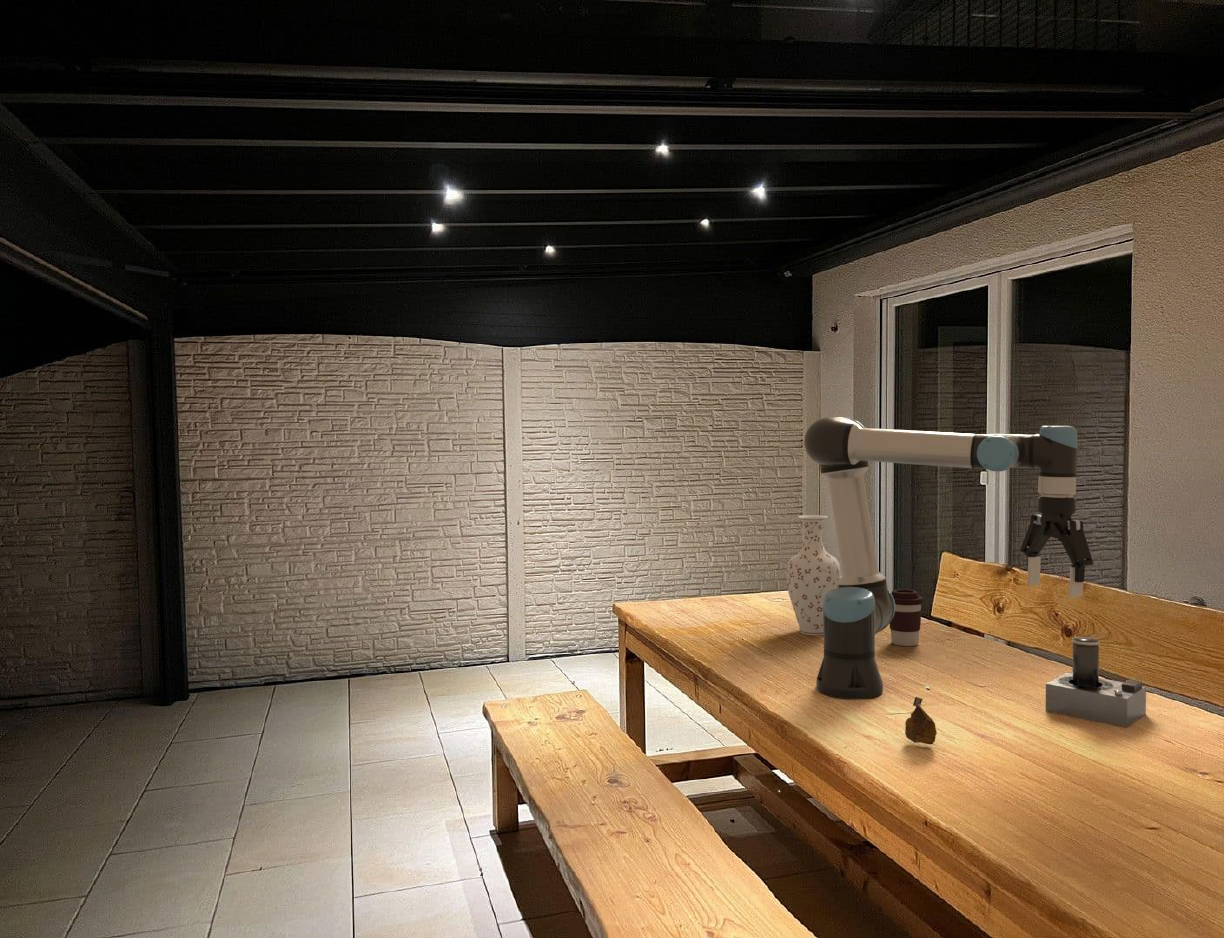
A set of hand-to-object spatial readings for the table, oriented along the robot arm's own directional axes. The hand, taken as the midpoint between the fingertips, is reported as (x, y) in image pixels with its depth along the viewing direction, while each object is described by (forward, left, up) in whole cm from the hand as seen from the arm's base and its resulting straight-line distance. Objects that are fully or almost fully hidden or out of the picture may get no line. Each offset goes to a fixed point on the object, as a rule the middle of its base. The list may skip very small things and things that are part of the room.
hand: (1053, 591), depth 203 cm
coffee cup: (+27, +51, -25) cm, 62 cm away
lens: (-2, -7, -20) cm, 22 cm away
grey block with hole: (-2, -9, -25) cm, 27 cm away
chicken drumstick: (-46, +9, -25) cm, 53 cm away
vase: (+22, +78, -25) cm, 84 cm away
